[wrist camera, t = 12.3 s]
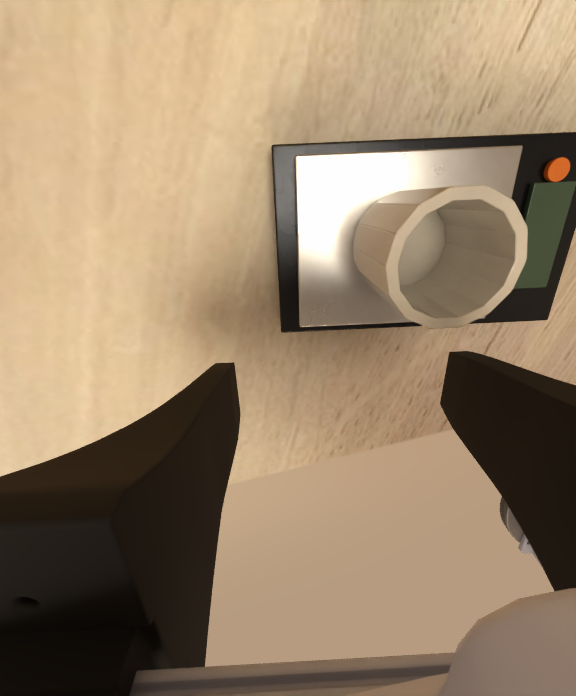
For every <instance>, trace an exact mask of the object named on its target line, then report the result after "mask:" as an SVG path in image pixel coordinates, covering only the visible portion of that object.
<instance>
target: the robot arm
mask: <svg viewBox="0 0 576 696" xmlns="http://www.w3.org/2000/svg"><path fill="white" fill-rule="evenodd" d="M440 405H441V407H442V409H443V411H444V413H445V415H446V417H447V419H448V420H449V422H450V424H451V426H452V428H453V429H454V431H455V432H456V433H457V435H458V436H459V438H460V439H461V440H462V442H463V443H464V445H465V446H466V447H467V449H468V450H469V451H470V453H471V454H472V455H473V457H474V458H475V459H476V461H477V462H478V463H479V465H480V466H481V468H482V469H483V470H484V472H485V473H486V474H487V476H488V477H489V478H490V479H491V481H492V482H493V484H494V485H495V487H496V488H497V489H498V491H499V492H500V494H501V495H502V497H503V498H504V500H505V502H506V503H507V505H508V507H509V509H510V510H511V512H512V514H513V515H514V517H515V519H516V520H517V522H518V524H519V525H520V527H521V529H522V531H523V532H524V534H523V537H522V539H521V542H520V545H519V549H520V551H521V552H522V553H525V554H527V553H532V554H533V555H534V556H535V558H536V559H537V560H538V562H539V563H540V565H541V566H542V567H543V569H544V571H545V573H546V575H547V577H548V579H549V581H550V583H551V585H552V587H553V589H554V592H550V593H545V594H540V595H535V596H530V597H525V598H520V599H517V600H516V601H513V602H511V603H510V604H508V605H506V606H504V607H502V608H500V609H498V610H496V611H494V612H492V613H490V614H488V615H487V616H485V617H483V618H481V619H479V620H478V621H477V622H476V623H475V625H474V626H473V627H472V628H471V629H470V631H469V632H468V633H467V634H466V635H465V637H464V638H463V639H462V641H461V642H460V643H459V644H458V646H457V649H456V652H455V653H439V654H422V655H404V656H387V657H370V658H352V659H337V660H336V659H334V660H319V661H318V660H317V661H301V662H300V661H299V662H282V663H267V664H266V663H264V664H247V665H230V666H212V667H205V658H206V647H207V635H208V625H209V616H210V606H211V596H212V586H213V577H214V568H215V560H216V551H217V543H218V535H219V527H220V519H221V512H222V507H223V502H224V497H225V492H226V488H227V484H228V480H229V476H230V472H231V467H232V463H233V459H234V455H235V450H236V446H237V441H238V434H239V424H240V406H239V398H238V390H237V381H236V373H235V365H234V363H216V364H214V365H213V366H212V367H210V368H209V369H208V370H207V371H205V372H204V373H203V374H202V375H201V376H199V377H198V378H197V379H196V380H195V381H193V382H192V383H191V384H190V385H188V386H187V387H186V388H185V389H183V390H182V391H181V392H179V393H178V394H177V395H175V396H174V397H173V398H171V399H170V400H168V401H167V402H166V403H164V404H163V405H161V406H160V407H158V408H157V409H155V410H154V411H152V412H151V413H149V414H147V415H146V416H144V417H142V418H141V419H139V420H137V421H135V422H134V423H132V424H130V425H128V426H126V427H124V428H122V429H120V430H118V431H116V432H114V433H112V434H110V435H108V436H106V437H104V438H102V439H100V440H98V441H96V442H93V443H91V444H89V445H86V446H84V447H82V448H79V449H77V450H75V451H72V452H70V453H67V454H64V455H62V456H59V457H57V458H54V459H51V460H49V461H46V462H43V463H40V464H38V465H34V466H31V467H28V468H25V469H22V470H19V471H16V472H13V473H10V474H7V475H4V476H1V477H0V696H576V386H575V385H572V384H569V383H566V382H562V381H559V380H556V379H553V378H550V377H547V376H544V375H541V374H538V373H535V372H532V371H529V370H526V369H523V368H521V367H518V366H515V365H512V364H509V363H506V362H503V361H500V360H498V359H495V358H492V357H488V356H485V355H482V354H478V353H474V352H469V351H461V352H449V357H448V363H447V368H446V374H445V379H444V385H443V390H442V396H441V401H440Z"/></svg>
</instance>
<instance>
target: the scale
mask: <svg viewBox="0 0 576 696" xmlns="http://www.w3.org/2000/svg"><path fill="white" fill-rule="evenodd" d="M272 164H273V184H274V203H275V222H276V241H277V260H278V280H279V299H280V318H281V332H283V333H284V332H305V331H326V330H347V329H368V328H389V327H410V326H423V325H420V324H418V323H416V322H413V321H411V320H409V319H407V318H406V317H404V316H403V315H402V314H401V313H400V312H399V311H398V310H396V309H395V308H394V307H393V306H392V305H391V304H390V303H389V302H388V301H387V300H385V299H384V298H383V297H382V296H381V295H380V294H379V293H378V292H377V291H376V290H374V289H373V288H372V287H371V286H370V285H369V284H368V282H367V281H366V280H365V279H364V278H363V277H362V276H361V274H360V273H359V271H358V269H357V267H356V265H355V262H354V258H353V238H354V234H355V231H356V228H357V225H358V223H359V221H360V220H361V218H362V216H363V215H364V214H365V212H366V211H367V210H368V209H369V208H370V207H371V206H372V205H373V204H374V203H375V202H377V201H378V200H379V199H381V198H383V197H385V196H387V195H389V194H392V193H396V192H398V191H405V190H417V189H428V188H440V187H451V186H472V185H486V186H489V187H491V188H493V189H495V190H496V191H498V192H500V193H502V194H504V195H505V196H507V197H509V198H511V199H512V200H513V201H514V202H515V203H516V205H517V207H518V209H519V211H520V213H521V215H522V217H523V219H524V221H525V223H526V225H527V228H528V240H527V260H526V263H525V265H524V267H523V269H522V271H521V273H520V275H519V278H518V280H517V282H516V284H515V286H514V288H513V290H511V292H510V293H509V294H508V295H507V296H506V297H505V298H504V299H503V300H502V301H501V302H500V303H499V304H498V305H497V306H496V307H495V308H494V309H493V310H492V311H491V312H490V313H489V314H487V315H486V316H483V317H481V318H479V319H477V320H475V321H473V322H470V323H468V324H473V323H494V322H515V321H536V320H547V319H548V316H549V313H550V310H551V307H552V303H553V300H554V297H555V293H556V290H557V287H558V284H559V280H560V277H561V274H562V271H563V267H564V264H565V261H566V257H567V254H568V251H569V248H570V244H571V241H572V238H573V234H574V231H575V228H576V132H564V133H540V134H516V135H492V136H469V137H445V138H421V139H398V140H374V141H350V142H326V143H303V144H279V145H272Z"/></svg>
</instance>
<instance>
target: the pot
mask: <svg viewBox="0 0 576 696" xmlns="http://www.w3.org/2000/svg"><path fill="white" fill-rule="evenodd" d="M527 240H528V228H527V225H526V223H525V221H524V219H523V217H522V215H521V213H520V211H519V209H518V207H517V205H516V203H515V202H514V201H513V200H512V199H511V198H509V197H507V196H505V195H504V194H502V193H500V192H498V191H496V190H495V189H493V188H491V187H489V186H486V185H472V186H451V187H440V188H428V189H417V190H405V191H398V192H396V193H392V194H389V195H387V196H385V197H383V198H381V199H379V200H378V201H377V202H375V203H374V204H373V205H372V206H371V207H370V208H369V209H368V210H367V211H366V212H365V214H364V215H363V216H362V218H361V220H360V221H359V223H358V225H357V228H356V231H355V234H354V238H353V258H354V262H355V265H356V267H357V269H358V271H359V273H360V274H361V276H362V277H363V278H364V279H365V280H366V281H367V282H368V284H369V285H370V286H371V287H372V288H373V289H374V290H376V291H377V292H378V293H379V294H380V295H381V296H382V297H383V298H384V299H385V300H387V301H388V302H389V303H390V304H391V305H392V306H393V307H394V308H395V309H396V310H398V311H399V312H400V313H401V314H402V315H403V316H404V317H406V318H407V319H409V320H411V321H413V322H416V323H418V324H420V325H423V326H425V327H427V328H431V329H437V328H458V327H462V326H464V325H466V324H468V323H470V322H473V321H475V320H477V319H479V318H481V317H483V316H486V315H487V314H489V313H490V312H491V311H492V310H493V309H494V308H495V307H496V306H497V305H498V304H499V303H500V302H501V301H502V300H503V299H504V298H505V297H506V296H507V295H508V294H509V293H510V292H511V290H513V288H514V286H515V284H516V282H517V280H518V278H519V275H520V273H521V271H522V269H523V267H524V265H525V263H526V260H527Z"/></svg>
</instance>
